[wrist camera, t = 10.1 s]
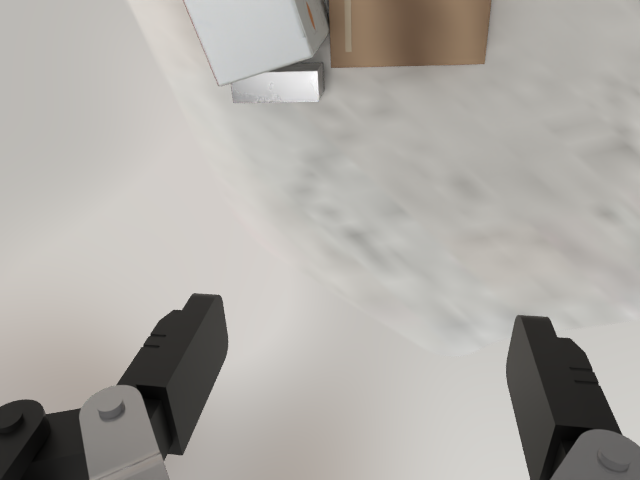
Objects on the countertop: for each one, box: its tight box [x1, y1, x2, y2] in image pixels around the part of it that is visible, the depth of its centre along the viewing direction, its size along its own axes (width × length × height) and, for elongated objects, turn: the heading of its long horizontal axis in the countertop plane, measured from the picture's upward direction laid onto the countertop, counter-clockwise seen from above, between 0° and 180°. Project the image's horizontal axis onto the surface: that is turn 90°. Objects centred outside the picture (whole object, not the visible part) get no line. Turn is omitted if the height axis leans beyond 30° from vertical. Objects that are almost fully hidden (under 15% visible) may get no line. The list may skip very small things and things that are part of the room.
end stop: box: [231, 63, 324, 103], centre depth 35 cm, size 6×2×3 cm, turn 93°
